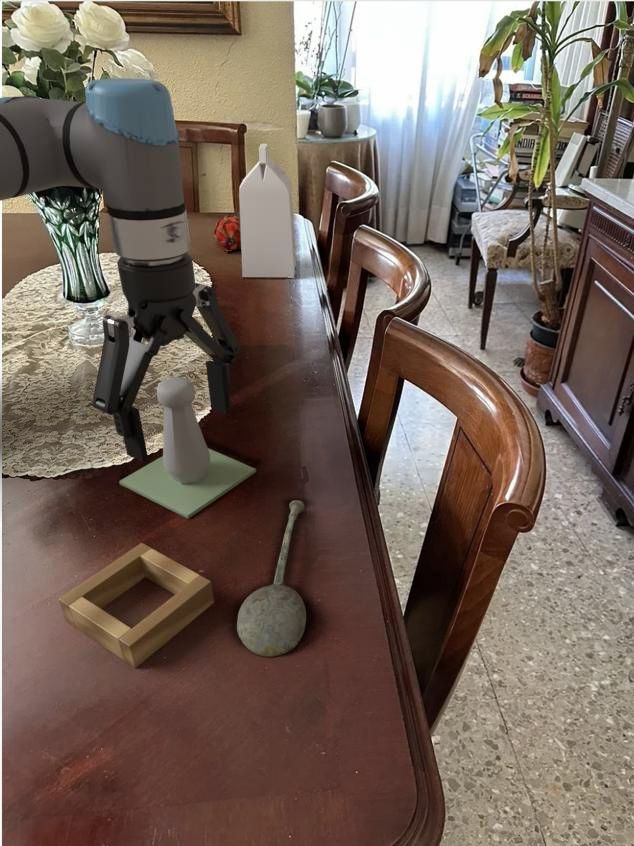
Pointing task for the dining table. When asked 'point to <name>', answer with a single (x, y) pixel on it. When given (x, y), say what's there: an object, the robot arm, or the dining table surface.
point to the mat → (188, 496)
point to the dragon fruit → (228, 233)
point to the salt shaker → (182, 432)
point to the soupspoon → (274, 608)
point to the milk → (267, 220)
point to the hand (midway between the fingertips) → (181, 432)
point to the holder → (156, 628)
